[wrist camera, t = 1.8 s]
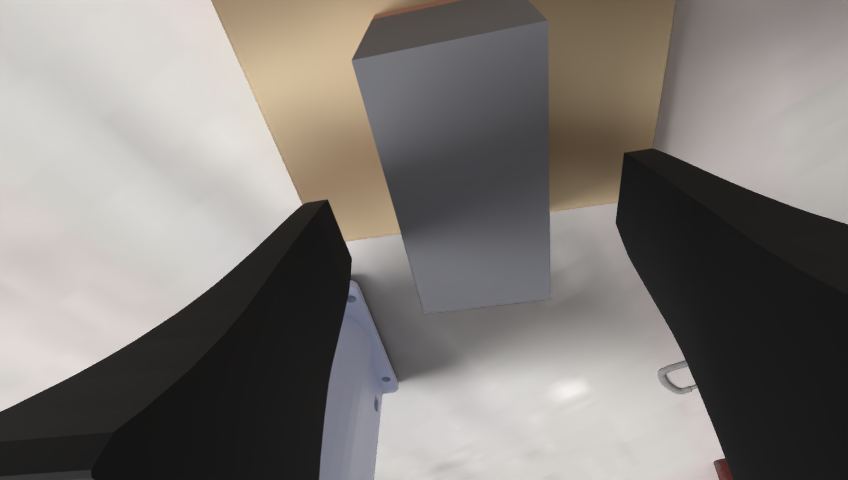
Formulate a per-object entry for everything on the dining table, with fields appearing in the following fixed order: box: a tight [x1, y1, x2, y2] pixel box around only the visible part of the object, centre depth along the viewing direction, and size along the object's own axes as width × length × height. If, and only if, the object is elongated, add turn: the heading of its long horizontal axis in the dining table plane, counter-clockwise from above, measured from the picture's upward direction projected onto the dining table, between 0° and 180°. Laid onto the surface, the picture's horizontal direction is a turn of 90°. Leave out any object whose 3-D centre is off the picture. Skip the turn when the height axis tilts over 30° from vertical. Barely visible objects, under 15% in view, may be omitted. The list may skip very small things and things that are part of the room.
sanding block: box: [351, 0, 550, 314], centre depth 13 cm, size 8×4×4 cm, turn 11°
